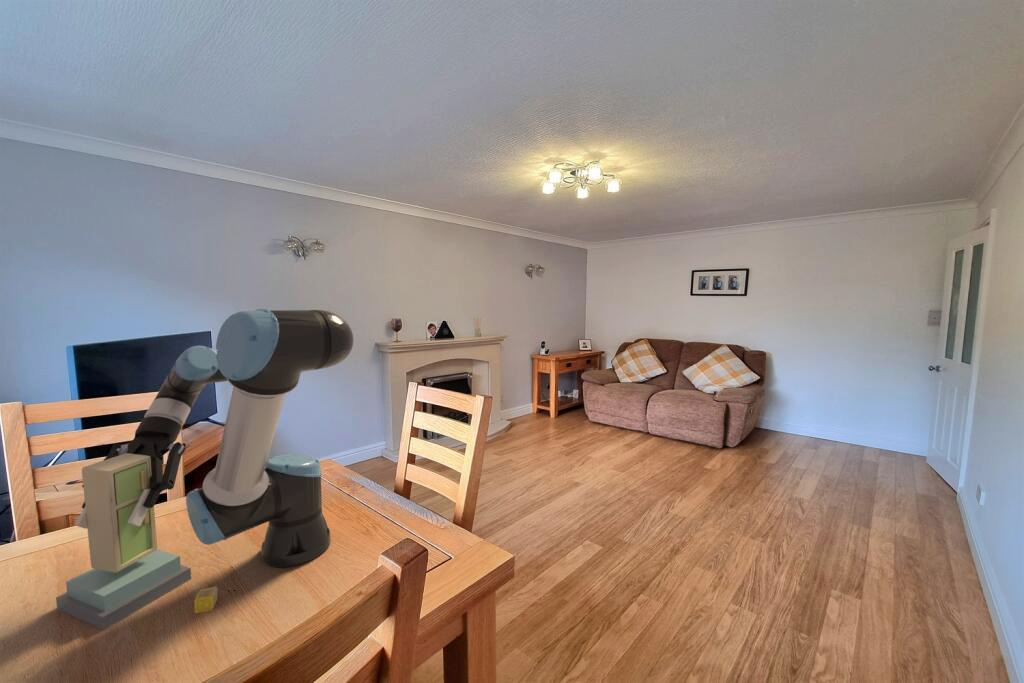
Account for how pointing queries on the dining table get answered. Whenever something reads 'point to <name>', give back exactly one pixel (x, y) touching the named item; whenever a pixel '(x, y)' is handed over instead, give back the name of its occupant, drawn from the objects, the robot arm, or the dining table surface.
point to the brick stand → (122, 589)
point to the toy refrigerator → (117, 511)
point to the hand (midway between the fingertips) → (107, 525)
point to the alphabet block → (205, 599)
